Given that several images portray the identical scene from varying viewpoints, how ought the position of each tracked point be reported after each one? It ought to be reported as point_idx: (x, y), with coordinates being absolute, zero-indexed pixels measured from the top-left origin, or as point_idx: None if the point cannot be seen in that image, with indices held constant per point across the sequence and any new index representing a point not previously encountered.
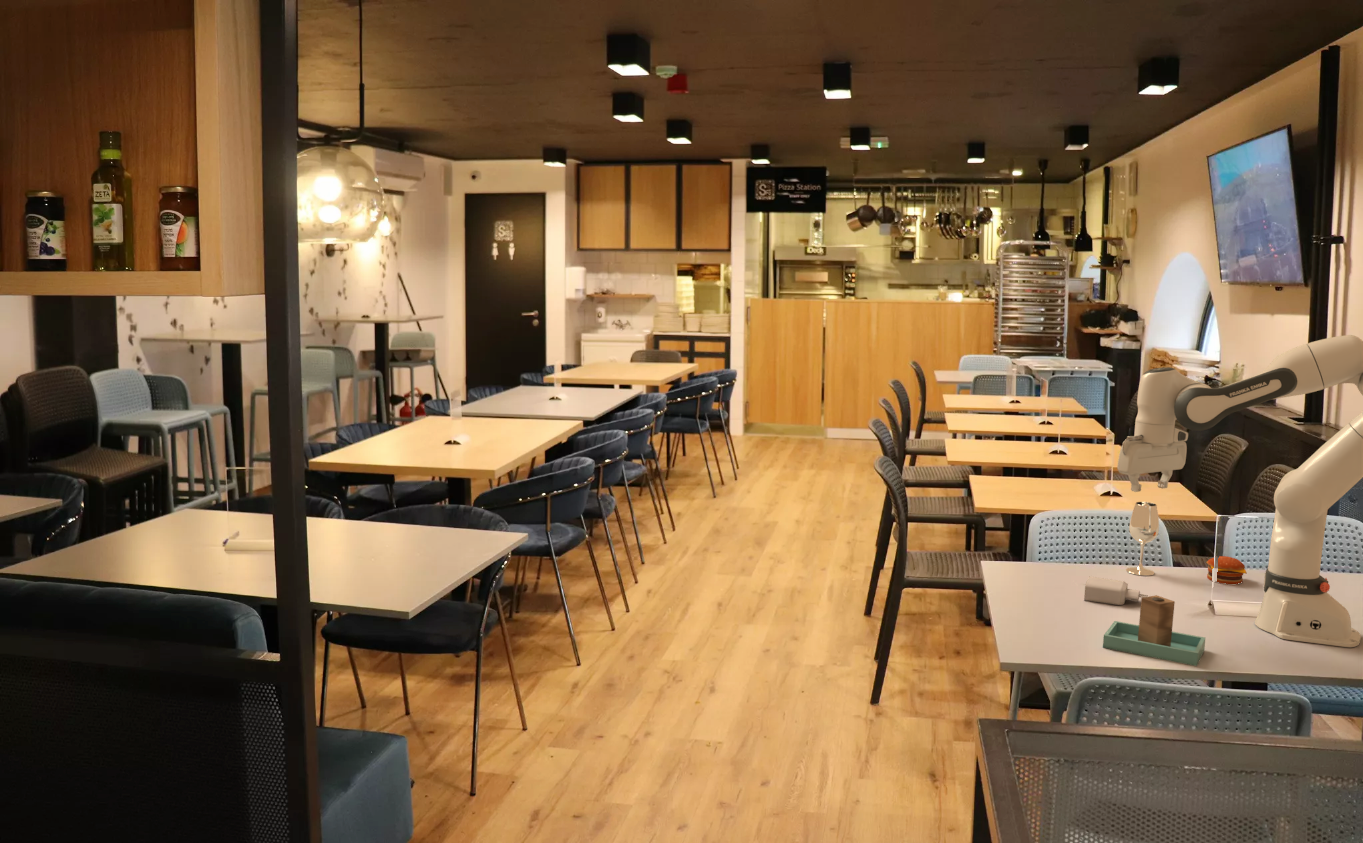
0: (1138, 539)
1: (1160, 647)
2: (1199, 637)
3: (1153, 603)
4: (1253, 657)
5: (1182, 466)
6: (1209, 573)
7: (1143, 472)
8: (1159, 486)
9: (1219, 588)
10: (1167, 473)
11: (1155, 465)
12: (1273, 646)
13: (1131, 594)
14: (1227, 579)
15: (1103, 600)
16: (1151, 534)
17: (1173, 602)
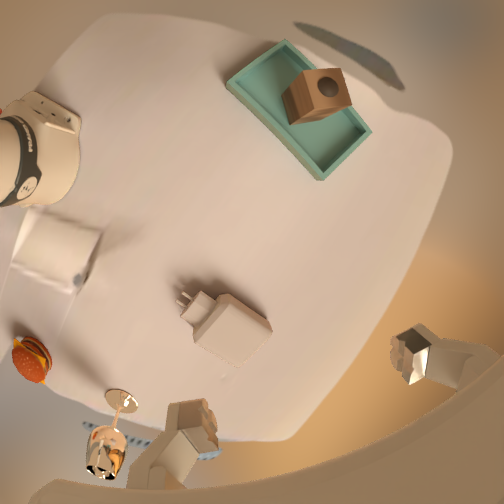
0: (120, 432)
1: None
2: (236, 83)
3: (343, 80)
4: (174, 56)
5: (50, 489)
6: (48, 365)
7: (486, 375)
8: (212, 417)
9: (49, 331)
10: (169, 476)
11: (400, 486)
12: (112, 93)
13: (206, 302)
14: (35, 344)
15: (248, 307)
16: (103, 430)
17: (305, 70)
